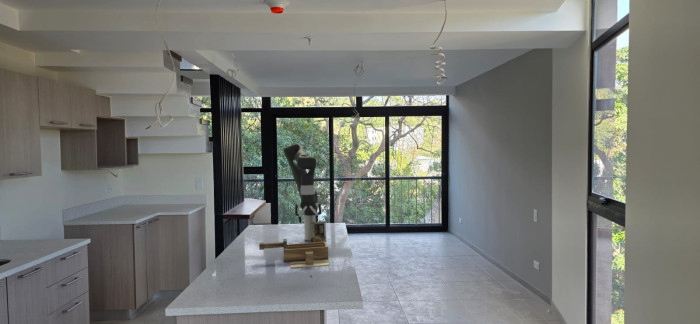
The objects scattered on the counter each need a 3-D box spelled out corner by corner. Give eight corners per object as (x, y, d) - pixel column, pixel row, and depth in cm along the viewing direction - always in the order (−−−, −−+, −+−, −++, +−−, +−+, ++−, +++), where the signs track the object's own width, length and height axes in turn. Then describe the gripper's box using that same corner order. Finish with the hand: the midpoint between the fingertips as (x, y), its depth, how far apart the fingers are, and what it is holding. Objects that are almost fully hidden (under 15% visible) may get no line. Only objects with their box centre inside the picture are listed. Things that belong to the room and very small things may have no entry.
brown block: (259, 248, 222) (259, 242, 222) (284, 246, 224) (284, 241, 224) (259, 249, 219) (259, 244, 219) (284, 248, 221) (284, 242, 221)
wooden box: (283, 256, 229) (283, 237, 228) (325, 253, 233) (325, 235, 233) (283, 262, 217) (283, 243, 217) (328, 258, 221) (327, 239, 221)
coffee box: (326, 246, 248) (326, 221, 247) (325, 249, 242) (324, 223, 241) (312, 246, 249) (312, 221, 248) (310, 249, 243) (310, 223, 242)
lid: (290, 264, 215) (289, 251, 215) (327, 261, 219) (327, 249, 219) (290, 269, 206) (290, 256, 206) (329, 266, 210) (329, 253, 210)
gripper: (294, 194, 206) (295, 224, 207) (321, 193, 208) (322, 223, 209) (294, 192, 213) (295, 222, 214) (320, 191, 216) (320, 220, 216)
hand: (308, 222), depth 212 cm, fingers open, 8 cm apart
